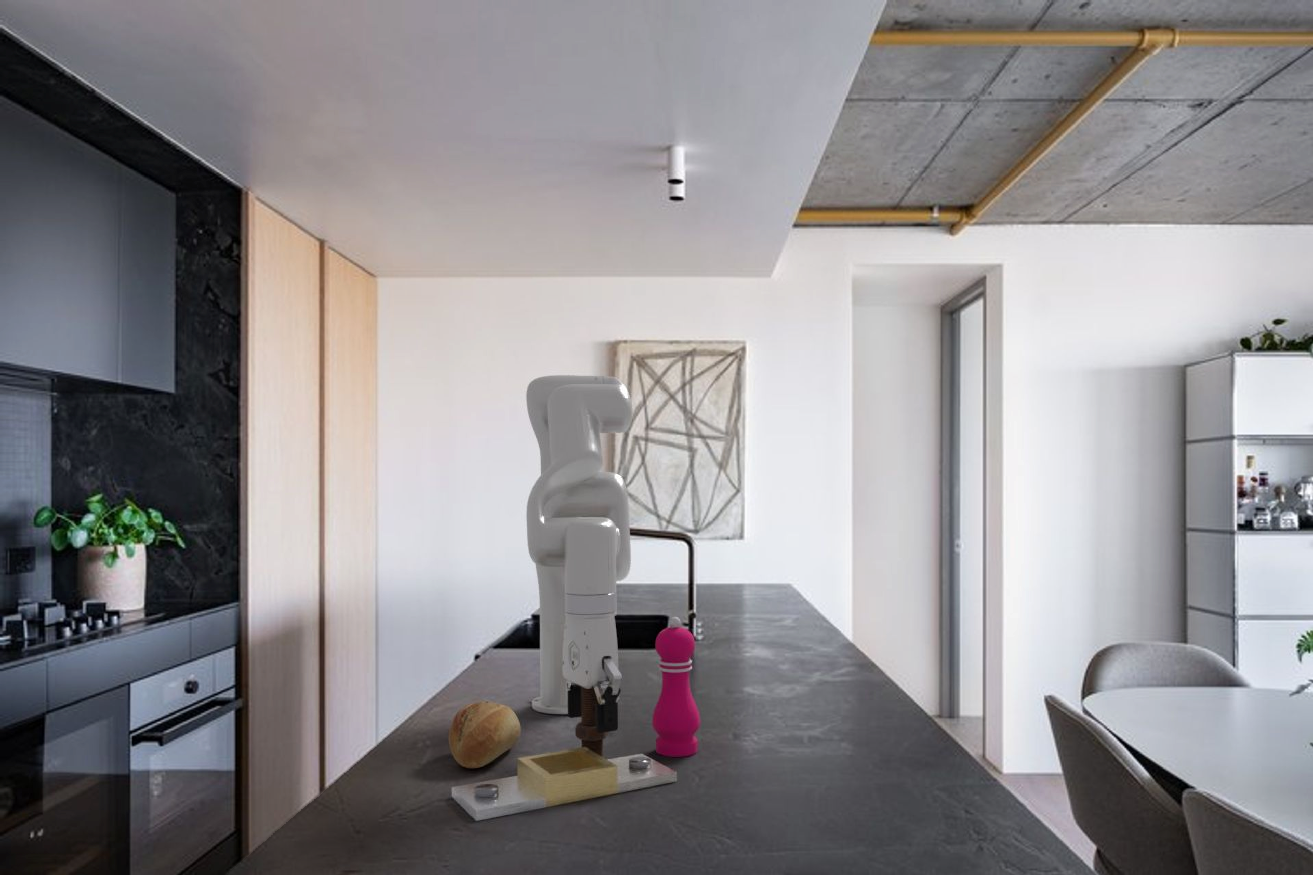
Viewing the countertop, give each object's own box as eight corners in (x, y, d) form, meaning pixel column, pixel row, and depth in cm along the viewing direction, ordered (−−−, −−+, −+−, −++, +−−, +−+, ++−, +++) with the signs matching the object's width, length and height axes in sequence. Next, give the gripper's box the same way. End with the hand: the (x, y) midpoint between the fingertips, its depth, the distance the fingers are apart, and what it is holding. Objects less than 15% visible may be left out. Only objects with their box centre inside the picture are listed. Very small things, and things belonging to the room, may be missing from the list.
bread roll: (433, 773, 129) (433, 716, 129) (470, 743, 143) (470, 691, 144) (499, 776, 127) (499, 717, 128) (529, 745, 142) (529, 693, 142)
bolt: (604, 768, 130) (603, 661, 130) (569, 766, 131) (569, 660, 131) (614, 756, 135) (613, 653, 136) (581, 754, 136) (580, 652, 137)
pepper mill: (706, 746, 140) (704, 614, 141) (692, 760, 133) (690, 621, 134) (661, 742, 142) (659, 612, 143) (645, 755, 135) (644, 619, 136)
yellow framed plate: (451, 796, 119) (451, 769, 119) (641, 761, 132) (641, 737, 133) (476, 820, 110) (476, 791, 110) (677, 781, 124) (676, 754, 124)
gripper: (544, 600, 140) (545, 714, 139) (593, 613, 125) (594, 741, 124) (589, 597, 143) (590, 708, 142) (641, 609, 128) (643, 733, 127)
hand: (592, 723), depth 133 cm, fingers open, 9 cm apart
